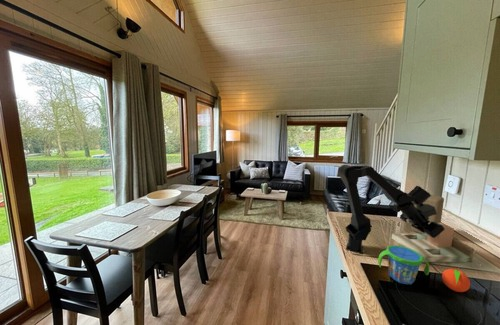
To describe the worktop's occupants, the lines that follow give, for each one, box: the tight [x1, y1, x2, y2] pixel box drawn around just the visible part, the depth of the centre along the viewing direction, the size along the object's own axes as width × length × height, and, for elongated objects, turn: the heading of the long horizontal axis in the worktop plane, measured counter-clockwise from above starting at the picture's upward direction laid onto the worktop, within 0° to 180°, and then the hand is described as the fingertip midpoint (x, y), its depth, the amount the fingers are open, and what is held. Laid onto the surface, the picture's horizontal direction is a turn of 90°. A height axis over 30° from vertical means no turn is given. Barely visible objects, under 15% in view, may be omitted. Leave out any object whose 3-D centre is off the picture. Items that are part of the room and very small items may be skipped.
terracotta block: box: [427, 222, 455, 248], centre depth 97 cm, size 6×6×9 cm
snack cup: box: [377, 245, 431, 286], centre depth 77 cm, size 16×10×10 cm
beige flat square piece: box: [391, 233, 475, 263], centre depth 98 cm, size 20×20×6 cm
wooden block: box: [410, 194, 445, 234], centre depth 114 cm, size 10×10×20 cm
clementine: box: [441, 268, 471, 293], centre depth 72 cm, size 8×7×7 cm
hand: (431, 234), depth 97 cm, fingers closed
